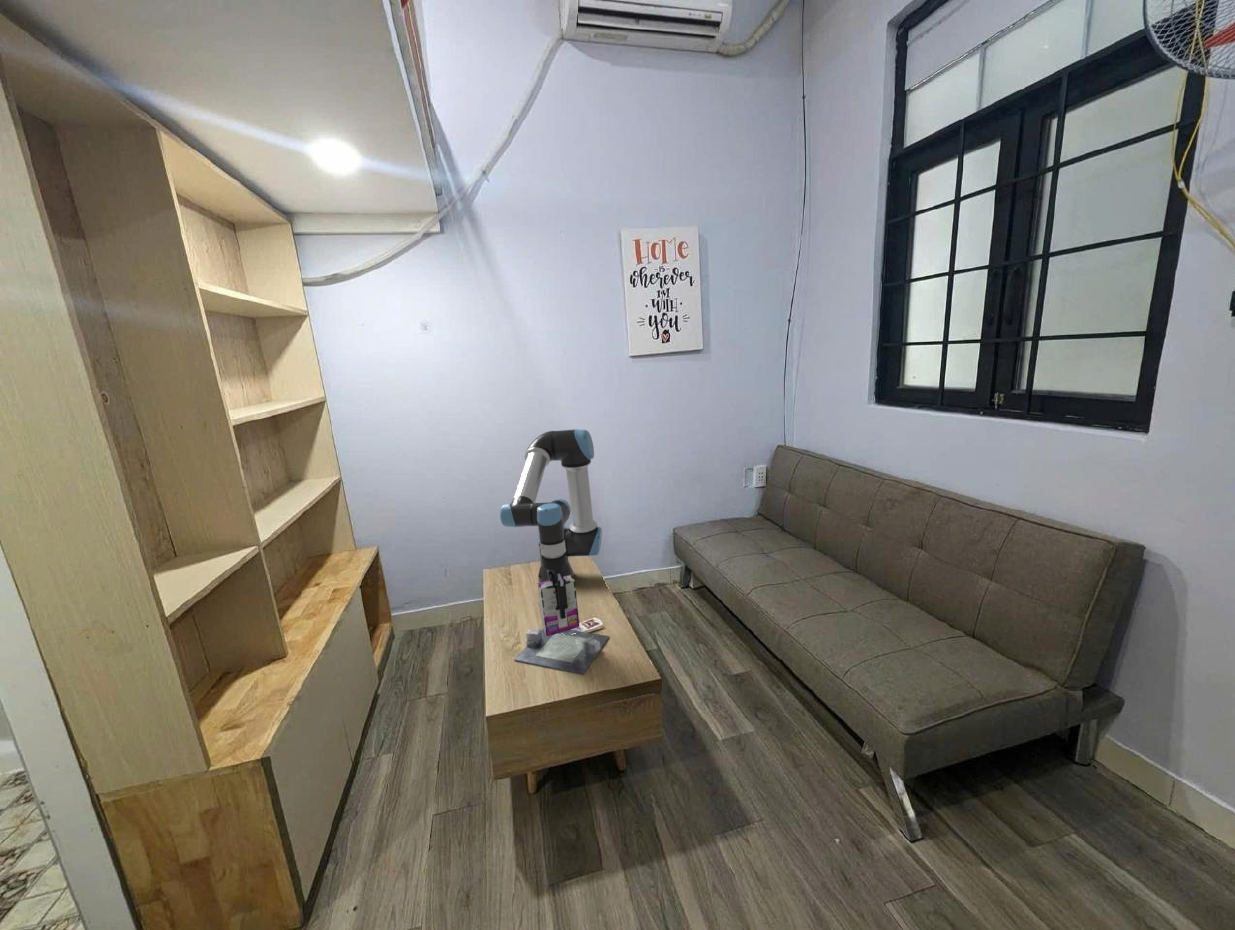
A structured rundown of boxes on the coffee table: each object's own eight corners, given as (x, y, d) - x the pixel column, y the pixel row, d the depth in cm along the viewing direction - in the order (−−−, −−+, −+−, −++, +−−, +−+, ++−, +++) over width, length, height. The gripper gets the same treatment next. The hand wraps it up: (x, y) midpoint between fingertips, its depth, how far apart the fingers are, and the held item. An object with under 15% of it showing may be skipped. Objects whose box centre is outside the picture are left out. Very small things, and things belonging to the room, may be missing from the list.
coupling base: (511, 660, 151) (509, 646, 150) (543, 626, 169) (542, 614, 168) (586, 675, 142) (585, 661, 141) (612, 637, 160) (611, 625, 159)
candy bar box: (575, 620, 158) (570, 573, 155) (580, 627, 154) (575, 580, 150) (541, 629, 154) (536, 582, 150) (546, 637, 149) (540, 588, 146)
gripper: (534, 547, 155) (541, 612, 160) (549, 567, 139) (557, 639, 144) (556, 542, 158) (563, 607, 163) (574, 561, 142) (580, 632, 147)
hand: (560, 622), depth 153 cm, fingers closed on candy bar box, 5 cm apart
